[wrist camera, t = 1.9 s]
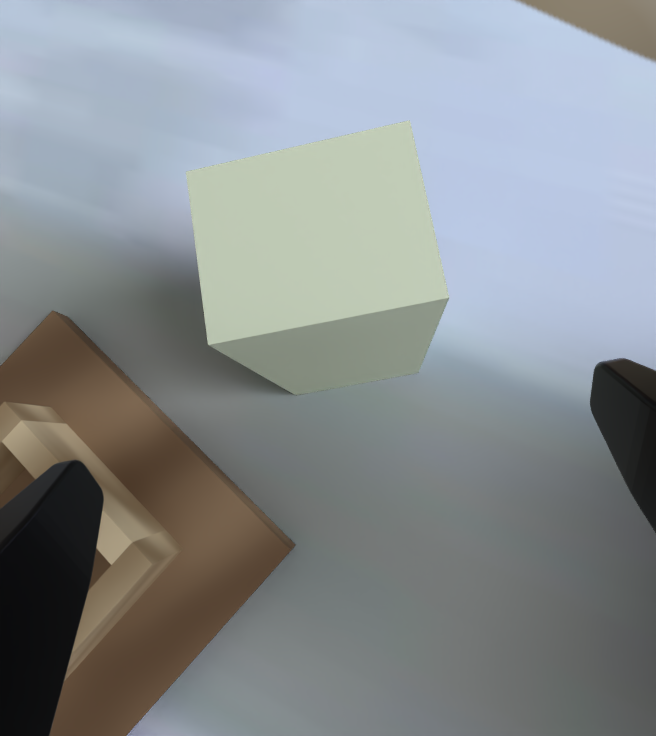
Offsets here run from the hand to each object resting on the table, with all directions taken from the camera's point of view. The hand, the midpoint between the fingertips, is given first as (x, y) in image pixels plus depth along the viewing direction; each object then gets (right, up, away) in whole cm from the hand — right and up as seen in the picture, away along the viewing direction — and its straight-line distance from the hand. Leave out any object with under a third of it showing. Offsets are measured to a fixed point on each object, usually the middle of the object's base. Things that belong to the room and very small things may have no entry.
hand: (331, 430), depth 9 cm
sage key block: (+1, +2, +12) cm, 12 cm away
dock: (-11, -6, +12) cm, 17 cm away
